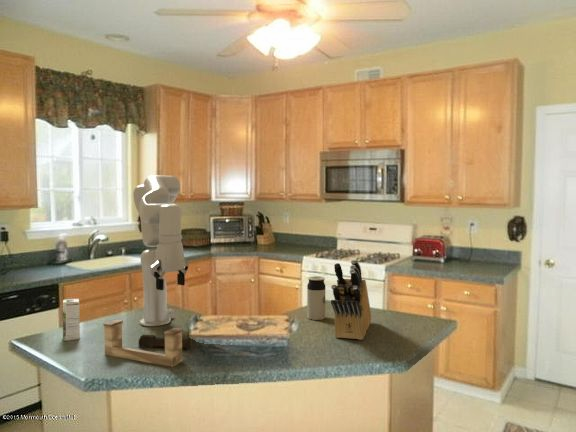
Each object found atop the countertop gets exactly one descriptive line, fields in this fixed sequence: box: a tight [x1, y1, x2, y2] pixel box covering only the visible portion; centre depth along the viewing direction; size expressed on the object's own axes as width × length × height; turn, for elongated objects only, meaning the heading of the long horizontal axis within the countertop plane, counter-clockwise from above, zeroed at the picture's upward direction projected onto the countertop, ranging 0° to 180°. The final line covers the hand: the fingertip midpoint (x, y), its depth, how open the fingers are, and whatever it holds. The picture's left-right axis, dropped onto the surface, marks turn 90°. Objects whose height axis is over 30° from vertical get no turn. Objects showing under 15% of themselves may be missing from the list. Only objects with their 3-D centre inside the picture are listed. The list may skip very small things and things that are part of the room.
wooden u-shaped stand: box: [103, 319, 184, 368], centre depth 151 cm, size 5×28×11 cm, turn 68°
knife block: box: [330, 259, 372, 341], centre depth 178 cm, size 11×35×31 cm, turn 163°
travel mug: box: [306, 275, 326, 321], centre depth 199 cm, size 8×8×18 cm
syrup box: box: [62, 298, 81, 342], centre depth 171 cm, size 6×6×14 cm
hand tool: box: [138, 334, 192, 351], centre depth 162 cm, size 19×4×5 cm, turn 81°
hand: (170, 287), depth 161 cm, fingers open, 9 cm apart
